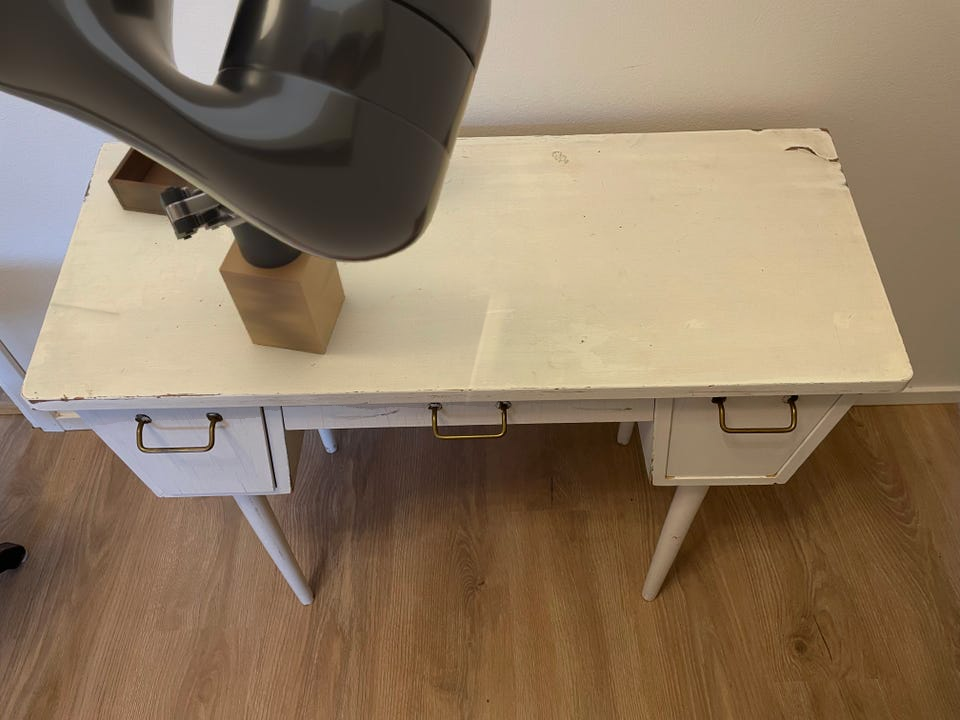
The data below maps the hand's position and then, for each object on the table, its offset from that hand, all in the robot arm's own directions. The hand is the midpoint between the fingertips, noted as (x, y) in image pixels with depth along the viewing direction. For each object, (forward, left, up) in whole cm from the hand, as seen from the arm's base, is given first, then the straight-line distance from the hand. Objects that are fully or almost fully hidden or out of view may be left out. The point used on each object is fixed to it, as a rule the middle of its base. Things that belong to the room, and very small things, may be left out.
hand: (271, 190), depth 52 cm
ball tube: (-7, +8, -15) cm, 19 cm away
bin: (-29, +26, -27) cm, 47 cm away
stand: (-7, +8, -27) cm, 29 cm away
